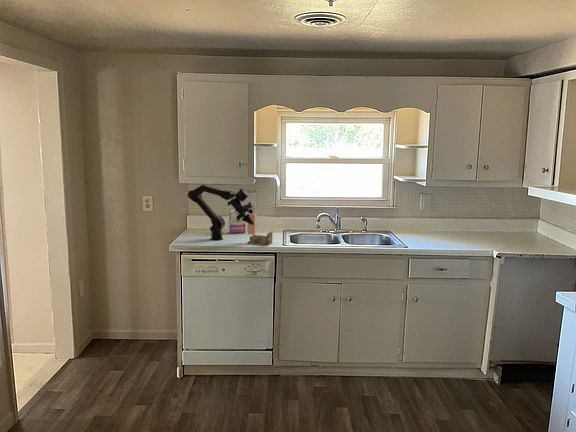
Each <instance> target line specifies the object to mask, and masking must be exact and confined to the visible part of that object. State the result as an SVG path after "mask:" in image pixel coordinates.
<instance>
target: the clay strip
mask: <svg viewBox="0 0 576 432" xmlns="http://www.w3.org/2000/svg"><path fill="white" fill-rule="evenodd" d="M257 216H258V215H257V213H255V214H254V213H252V214H249V217H250V219H251V220H252V222H253V223H254V224H253V225H251V224H249V223H247V235H252V236H253V235H257Z"/></svg>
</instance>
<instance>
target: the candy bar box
mask: <svg viewBox="0 0 576 432" xmlns="http://www.w3.org/2000/svg"><path fill="white" fill-rule="evenodd" d="M238 215H239V213H238V212H236V211H235V210H234V209H231V210H228V234H230V235H233V234H234V235H237V234H246V222H245V221H242V219H243V217H242V218H241V219H240V220H239V221H238V220H237V219H236V217H237V216H238Z"/></svg>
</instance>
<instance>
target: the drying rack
mask: <svg viewBox="0 0 576 432" xmlns="http://www.w3.org/2000/svg"><path fill="white" fill-rule="evenodd" d="M247 244H248V245H258V246H259V245H260V246H270V245H271V244H273V231H270V232H268V233H267V234H266V235H259V234H258V235H257V234H255V235H253V234H252V235H250V236H249V241H247Z"/></svg>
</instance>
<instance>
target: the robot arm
mask: <svg viewBox="0 0 576 432" xmlns="http://www.w3.org/2000/svg"><path fill="white" fill-rule="evenodd" d="M238 190H239V191H237V192H235V191H233V190H228V189H220V188H216V187H213V186H209V185H206V184H201V185H200V186H198V187H196V188H195V189H191V190H189V191H188V193H187V197H188V199H189V200H191V201H192V202H193V203H196V204H197V205H198V206H199V208H201V210H202V211H203V212H204V213H205V215H206V217H208V218H209V219H210V222H211V224H212V225H211V226H210V227H209V230H210V232H211V233H210V235H211V237H210V238H209V240H212V241H221V240H224V237H223V233H222V230H223V228H224V227H225V226H226V221H225V219H224V218H223V216H222V215H221V214H219V215H217V214H216V213H215V212H214V210H213V209H212V208H211V207H210V206H209V205H208V203H207V202H206V201H205V200H204V199H203V195H202V194H203V193H205V192H206V193H209V194H212V195H215V196H218V197H220V198H221V199H223V200H226V201H227V206H229V207H230V206H232V207H233V209H235V211H236V212H238V213H239V215H238V216H237V217H236V219H237V220H238V221H239V220H240V219H241V218H242V217H243V219H242V221H245V223H247V224H248V223H249V224H251V225H253V224H254V223H253V222H252V220H251V219H250V217H249V214H254V212H255V210H254V207H255V203H254V202H253V201H248V203H247V204H245V203H242V202H244V201H245V200H246V199H248V198H249V196H250V194H249V192H248V191H246V190H245V189H244V188H243V187H241V188H240V189H238Z"/></svg>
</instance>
